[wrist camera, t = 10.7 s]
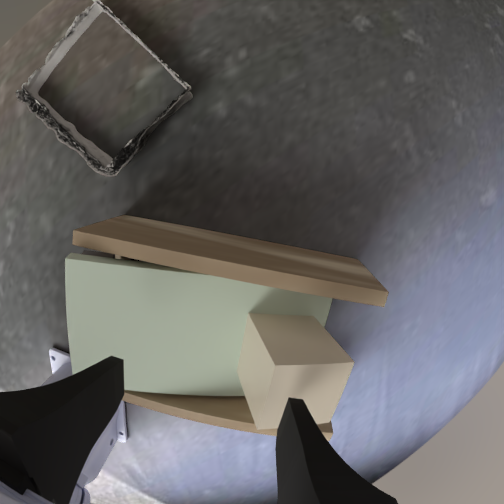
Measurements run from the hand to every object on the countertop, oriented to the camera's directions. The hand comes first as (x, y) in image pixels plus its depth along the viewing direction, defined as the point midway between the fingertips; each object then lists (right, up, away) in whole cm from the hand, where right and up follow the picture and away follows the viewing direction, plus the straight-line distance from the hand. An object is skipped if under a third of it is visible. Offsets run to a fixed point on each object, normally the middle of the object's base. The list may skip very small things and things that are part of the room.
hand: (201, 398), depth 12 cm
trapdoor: (-2, +2, +8) cm, 8 cm away
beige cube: (+3, +1, +6) cm, 7 cm away
